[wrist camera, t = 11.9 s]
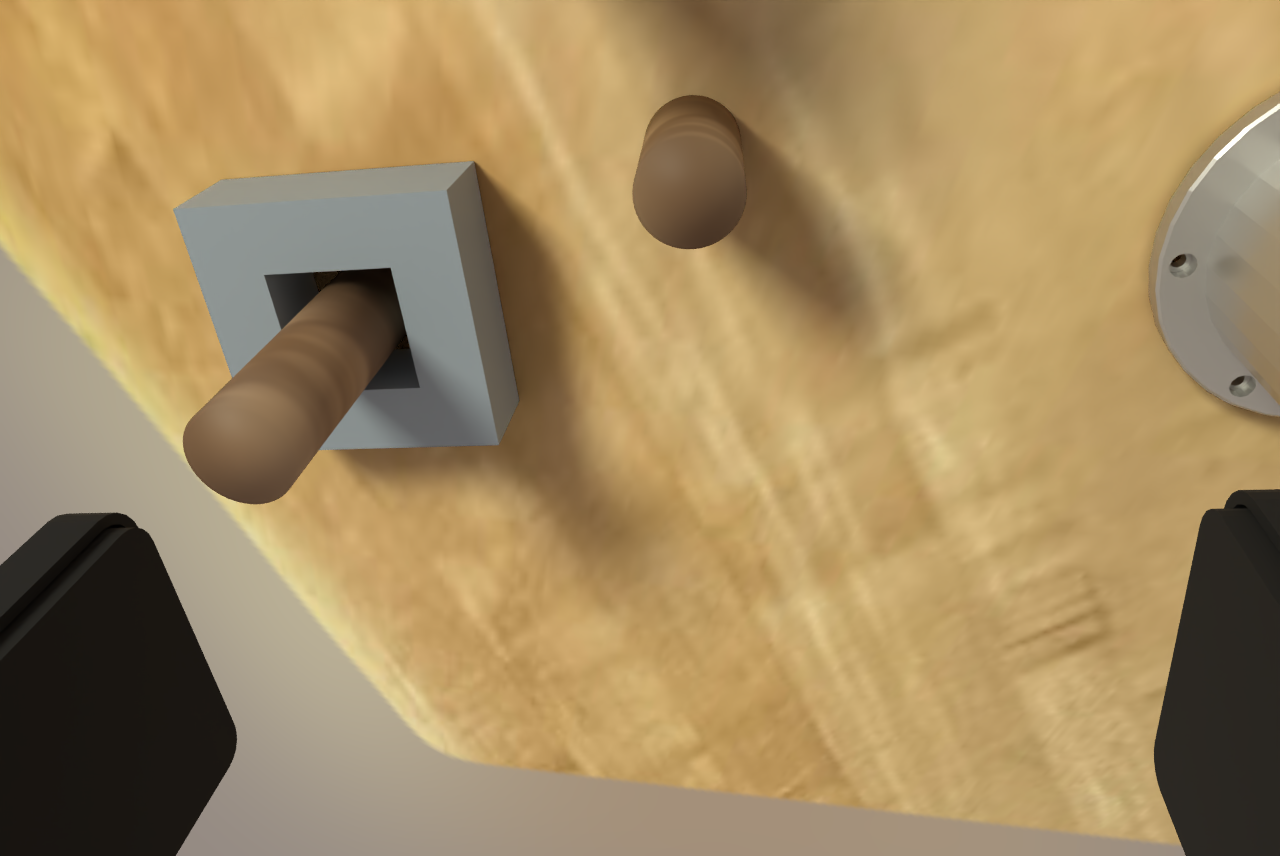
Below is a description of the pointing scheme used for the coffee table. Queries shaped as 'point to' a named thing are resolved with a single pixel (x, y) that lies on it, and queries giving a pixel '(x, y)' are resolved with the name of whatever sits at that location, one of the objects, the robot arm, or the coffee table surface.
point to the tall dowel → (296, 389)
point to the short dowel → (690, 174)
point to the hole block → (367, 239)
